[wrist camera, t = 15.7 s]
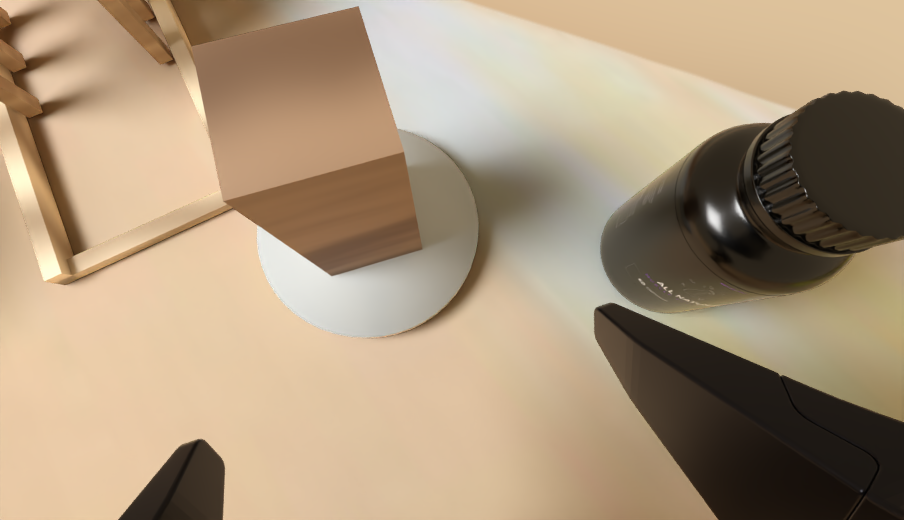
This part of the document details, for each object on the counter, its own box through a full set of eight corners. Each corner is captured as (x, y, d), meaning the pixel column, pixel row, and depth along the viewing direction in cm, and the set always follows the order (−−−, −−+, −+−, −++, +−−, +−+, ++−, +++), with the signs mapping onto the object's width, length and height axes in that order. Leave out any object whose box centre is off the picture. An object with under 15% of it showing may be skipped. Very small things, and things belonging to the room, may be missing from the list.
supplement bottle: (620, 328, 23) (810, 302, 11) (581, 214, 24) (713, 83, 12) (733, 298, 23) (1032, 242, 11) (689, 188, 25) (914, 38, 13)
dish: (387, 384, 22) (384, 386, 20) (221, 250, 23) (209, 245, 22) (517, 213, 24) (521, 206, 23) (359, 101, 25) (355, 88, 24)
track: (259, 195, 24) (239, 178, 21) (64, 285, 22) (20, 277, 20) (155, -32, 27) (129, -68, 25) (-19, 34, 26) (-66, 2, 23)
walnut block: (422, 249, 22) (404, 151, 11) (331, 276, 22) (222, 201, 11) (397, 167, 23) (358, 6, 12) (310, 191, 23) (191, 46, 12)
